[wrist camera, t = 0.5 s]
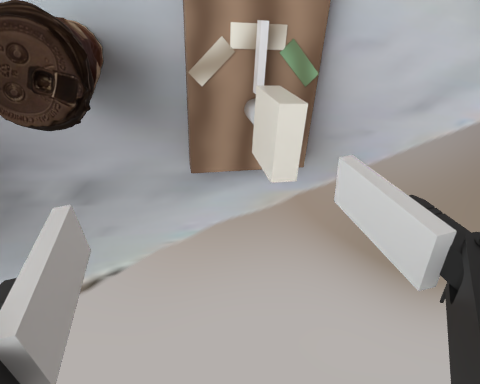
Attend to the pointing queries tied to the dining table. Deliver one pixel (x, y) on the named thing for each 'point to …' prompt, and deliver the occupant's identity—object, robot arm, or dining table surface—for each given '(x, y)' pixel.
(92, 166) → the dining table surface
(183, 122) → the dining table surface
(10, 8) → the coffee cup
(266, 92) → the white piece
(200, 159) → the board
